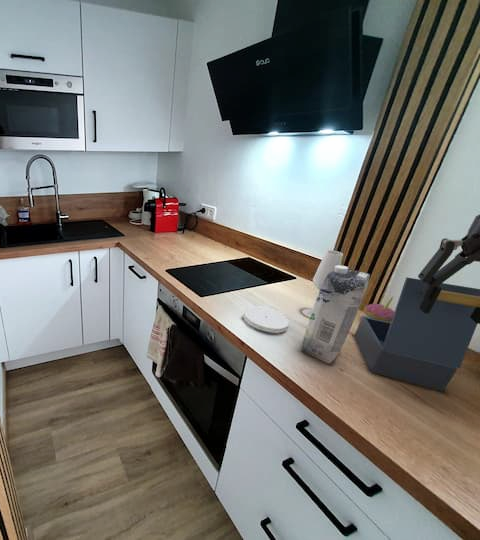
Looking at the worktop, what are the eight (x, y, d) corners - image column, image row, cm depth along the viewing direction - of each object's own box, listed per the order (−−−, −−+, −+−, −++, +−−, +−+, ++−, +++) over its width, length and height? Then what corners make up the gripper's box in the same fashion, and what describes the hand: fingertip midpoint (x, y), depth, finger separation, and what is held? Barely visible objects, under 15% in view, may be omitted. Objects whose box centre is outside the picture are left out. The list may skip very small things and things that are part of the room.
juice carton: (341, 351, 85) (376, 268, 74) (332, 368, 78) (369, 280, 68) (307, 337, 91) (335, 259, 80) (297, 352, 84) (325, 268, 73)
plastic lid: (234, 314, 102) (235, 308, 101) (266, 310, 106) (268, 304, 105) (261, 338, 90) (263, 331, 89) (297, 332, 94) (299, 325, 93)
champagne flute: (326, 320, 101) (350, 257, 91) (305, 317, 102) (327, 254, 92) (319, 310, 107) (341, 250, 97) (299, 308, 108) (319, 248, 98)
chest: (354, 335, 93) (362, 316, 90) (412, 348, 87) (422, 329, 84) (371, 372, 77) (381, 350, 75) (442, 391, 72) (457, 369, 69)
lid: (406, 277, 71) (419, 281, 65) (488, 290, 65) (510, 296, 60) (381, 348, 75) (392, 358, 69) (457, 367, 69) (475, 379, 63)
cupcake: (397, 332, 95) (413, 301, 90) (369, 329, 96) (383, 298, 91) (379, 318, 103) (393, 289, 98) (354, 315, 104) (366, 286, 99)
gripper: (444, 213, 57) (396, 311, 66) (609, 229, 48) (528, 338, 58) (427, 207, 63) (385, 297, 72) (570, 219, 55) (503, 319, 64)
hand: (448, 315), depth 65 cm, fingers closed on lid, 8 cm apart
